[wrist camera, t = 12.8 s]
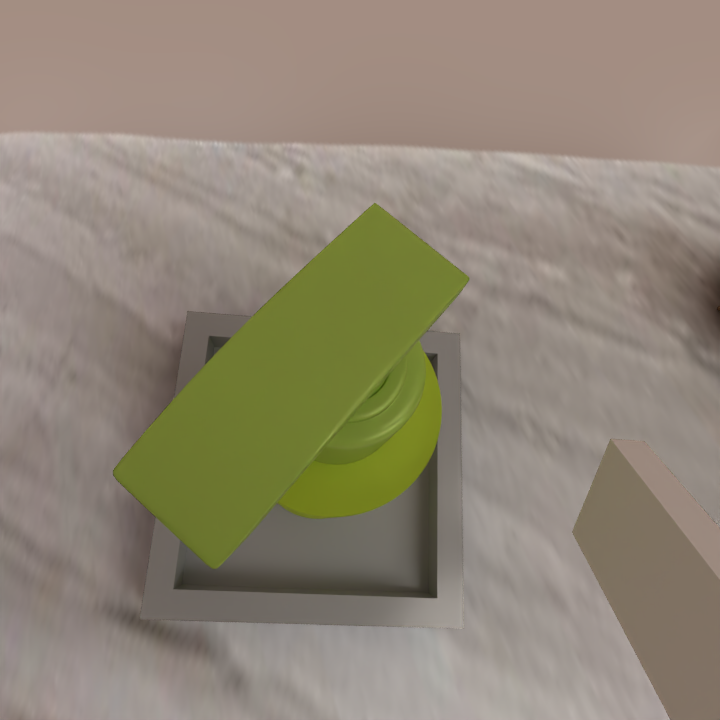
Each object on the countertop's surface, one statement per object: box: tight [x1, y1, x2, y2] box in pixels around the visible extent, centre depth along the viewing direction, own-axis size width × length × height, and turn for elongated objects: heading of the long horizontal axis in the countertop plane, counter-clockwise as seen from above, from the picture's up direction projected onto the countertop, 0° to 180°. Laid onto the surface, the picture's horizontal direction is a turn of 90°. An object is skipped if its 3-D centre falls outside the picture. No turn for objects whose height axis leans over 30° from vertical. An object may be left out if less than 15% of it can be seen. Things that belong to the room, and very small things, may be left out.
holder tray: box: [140, 311, 464, 629], centre depth 26 cm, size 14×14×3 cm
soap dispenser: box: [113, 203, 469, 569], centre depth 17 cm, size 6×7×20 cm
